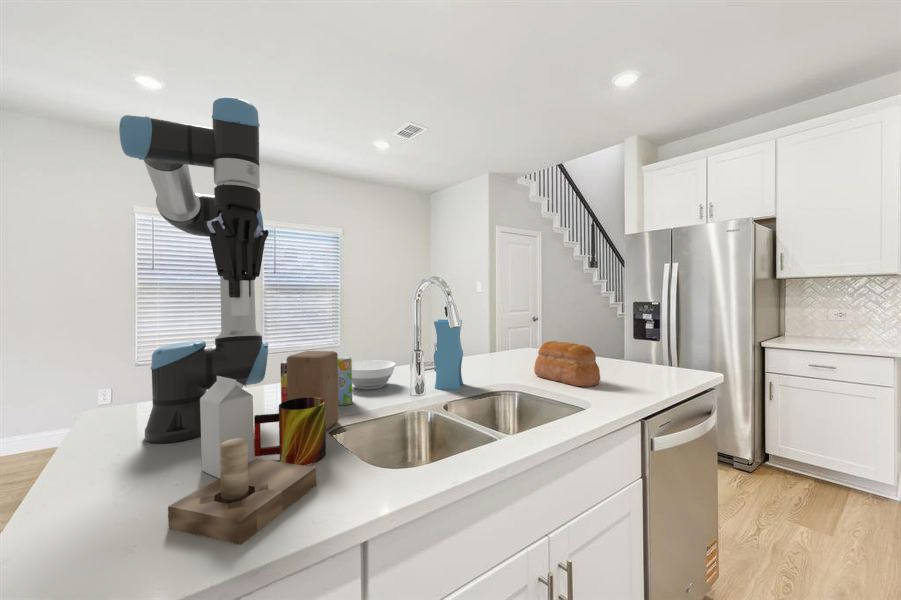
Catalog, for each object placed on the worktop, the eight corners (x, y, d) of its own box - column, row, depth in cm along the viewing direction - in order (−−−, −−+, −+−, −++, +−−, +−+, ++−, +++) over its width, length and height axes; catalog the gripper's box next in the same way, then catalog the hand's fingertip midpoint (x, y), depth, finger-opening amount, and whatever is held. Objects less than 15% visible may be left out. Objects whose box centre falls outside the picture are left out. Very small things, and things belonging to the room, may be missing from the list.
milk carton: (220, 480, 77) (217, 383, 77) (201, 471, 81) (199, 379, 81) (254, 466, 83) (252, 376, 83) (235, 458, 87) (233, 372, 87)
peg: (215, 519, 64) (213, 446, 64) (235, 506, 68) (234, 437, 68) (235, 523, 63) (233, 449, 63) (254, 509, 67) (253, 439, 67)
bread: (582, 389, 145) (582, 348, 144) (530, 376, 166) (530, 340, 166) (605, 384, 152) (605, 345, 152) (552, 372, 174) (552, 338, 173)
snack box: (351, 400, 132) (350, 355, 132) (352, 405, 127) (351, 358, 126) (282, 406, 125) (281, 359, 125) (280, 412, 120) (279, 362, 120)
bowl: (391, 393, 141) (391, 370, 141) (336, 393, 141) (336, 370, 141) (399, 380, 160) (398, 359, 160) (351, 380, 161) (351, 360, 160)
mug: (253, 460, 86) (252, 406, 86) (316, 444, 95) (315, 394, 94) (265, 477, 79) (264, 417, 78) (332, 457, 87) (331, 404, 87)
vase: (438, 382, 156) (437, 319, 155) (463, 383, 154) (462, 319, 153) (433, 389, 146) (433, 321, 145) (460, 389, 144) (460, 321, 144)
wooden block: (321, 435, 101) (320, 357, 100) (286, 432, 103) (284, 355, 102) (340, 422, 111) (339, 350, 110) (307, 419, 113) (306, 349, 112)
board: (168, 528, 62) (168, 506, 62) (256, 475, 79) (255, 458, 79) (240, 544, 58) (240, 521, 58) (316, 485, 75) (316, 467, 75)
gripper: (224, 176, 66) (227, 318, 67) (279, 194, 78) (281, 313, 79) (189, 180, 68) (193, 317, 69) (248, 197, 80) (251, 312, 81)
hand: (240, 315), depth 74 cm, fingers closed
